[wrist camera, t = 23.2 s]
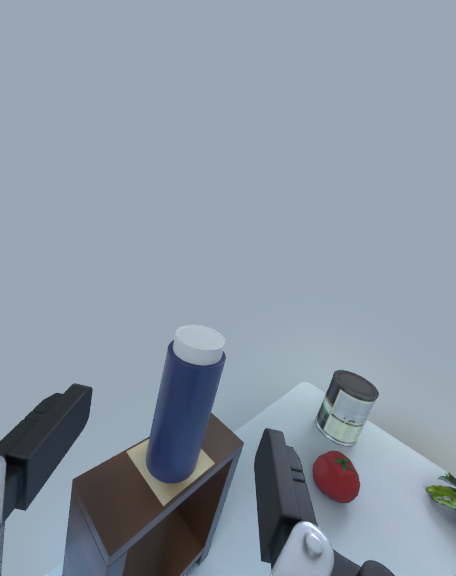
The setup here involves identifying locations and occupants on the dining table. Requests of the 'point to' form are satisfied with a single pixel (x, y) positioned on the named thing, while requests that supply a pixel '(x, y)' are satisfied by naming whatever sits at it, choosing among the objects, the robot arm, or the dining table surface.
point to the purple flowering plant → (444, 492)
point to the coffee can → (346, 407)
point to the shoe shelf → (148, 512)
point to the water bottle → (184, 402)
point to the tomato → (336, 476)
